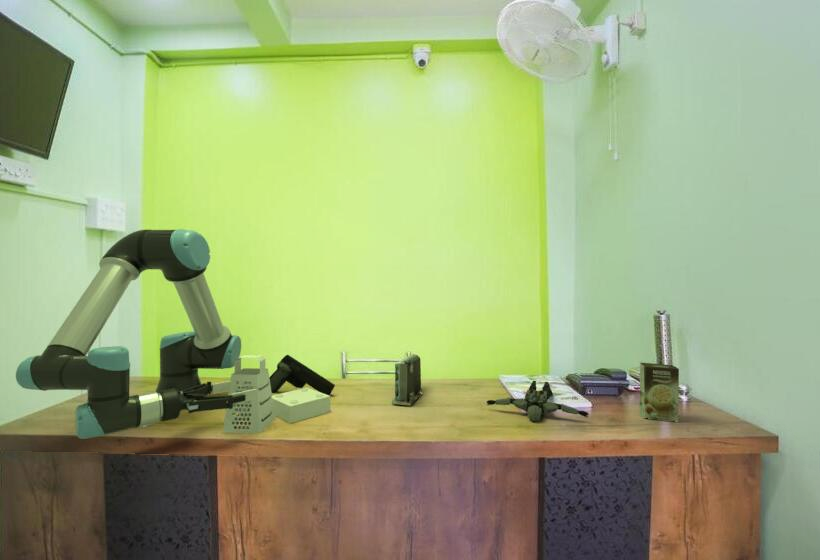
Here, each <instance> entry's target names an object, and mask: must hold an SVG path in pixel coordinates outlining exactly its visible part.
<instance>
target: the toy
mask: <svg viewBox="0 0 820 560" xmlns="http://www.w3.org/2000/svg"><path fill="white" fill-rule="evenodd" d="M553 395H554V392H553V391H552V389H551V385H550V383H549V382H548V381H545V382H544V384H543V386H542V388H541V389H540V390H537V380H532V382H531V384H530V385H529V387H528V389H526V392H525V394H524V398H523V397H522V398H512V397H507V398H499V399H495V400H494V399H490V400H486V403H487V404H486V406H491V405H499V406H510V405H514V407H516V408H518V409H520V410H522V411H524V412H525V413H526V412H527V418H528V419H529V420H530V421H532V422H533V421H535V422H538V421H540V420H541V416H543V415H546V414H550V413H555V412H557V411H558V410H561V411H562V412H564V413H567V414H568V413H569V414H573V415H580V416H583V417H584V418H589V412H587V411H585V410H579V409H578V408H574V407H572V406H568V405H566V404H564V403H555V402H552V401H549V399H550V398H551V397H553Z"/></svg>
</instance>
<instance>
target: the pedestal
mask: <svg viewBox="0 0 820 560" xmlns="http://www.w3.org/2000/svg"><path fill="white" fill-rule="evenodd" d="M331 398H332V397H331V395H326V394H323V393H321V392H319V391H317V390H316V389H313V388H309V387H303V388H298V389H295V390H289V391H286V392H282V393H277V394H272V400H273V407H274V414H275V417H276V418H279V419H281V420H283V421H285V422H287V423H289V424H293V423H296V422H300V421H303V420H307V419H311V418H314V417H317V416H320V415H323V414H326V413H331Z"/></svg>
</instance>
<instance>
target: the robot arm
mask: <svg viewBox="0 0 820 560" xmlns="http://www.w3.org/2000/svg"><path fill="white" fill-rule="evenodd" d="M210 250H211V249H210V247H209V243H208V241H207V240H206V238H205V237H204V236H203V235H202V234H201V233H200V232H198V231H196V230H192V229H191V230H190V229H184V228H183V229H182V228H181V229H180V228H178V229H140V230H136V231H133V232H131V233H129V234H127V235H125V236H123V237H122V238H121V239H119V240H117V242H115V243H114V244H113V245H112V246H111V247H110V248H109V249H108V250H107V252H105V254H104V255H103V256H102V258H101V259H100V260H99V263H98V265H99V267H100V269H98V271H97V273H96V274H95V276H94V277H93V279H92V280H91V282H90V283H89V285H88V287H87V288H86V289H85V291H84V292H83V294H81V296H80V298H79V299H78V301H77V302H76V303H75V305H74V307H73V308H72V309H71V311H70V312H69V314H68V316H67V317H66V318H65V320H64V321H63V323H62V324H61V326H60V327H59V329H58V330H57V331H56V333H55V335H54V336H53V337H52V339H51V340H50V342H49V343H48V345H47V346H46V348H45V349H44V351H43V352H42V353H41V355H33V356H29V357H27V358H25V360H22V361H21V362H20V363H19V365H18V367H17V368H16V371H15V380H16V382H17V384H18V385H19V386H20V387H21V388H22V389H25V390H35V391H43V392H44V391H56V390H57V391H58V390H61V391H62V390H63V391H64V390H69V391H86V392H87V402H85V403H84V404H83V403H82V404H79V405H77V406H76V408H75V416H74V423H75V424H74V426H75V434H76V436H77V437H78V438H79V439H81V440H83V439H89V438H90V439H91V438H96V437H101V436H102V437H103V436H104V437H105V436H107V435H110V434H111V435H112V434H115V433H116V434H117V433H119V432H122V431H127V430H131V429H136V428H140V427H142V428H143V429H145V428H147V427H148V425H149V426H150V425H154V424H157V423H159V422H162V423H164V422H168V421H172V420H176V419H178V418H179V416H180V414H181V412H182V410H183V411H184V410H187V411H188V414H192V413H199V412H206V411H215V410H226V409H227V408H229V409H232V408H233V405H234V404H238V403H242V402H247V401H251V400H256V389H252V390H247V391H243V392H238V393H233V394H231V395H228V394H226V395H216V394H220V393H224V392H229V386H230V380H227V381H222V382H216V383H212V381H206V382H203V383H202V382H201V379H200V376H199V369H203V370H204V369H208V370H211V369H212V370H213V369H214V370H224V369H232V368H235V360H236V359H237V358H239V357H241V352H242V338H241V337H240V336H239V335H236V334H234V335H232V332H231V330H230V329H229V328H228V326H226V325H224V324H223V322H222V319H221V318H220V315H219V311H218V308H217V306H216V303H215V301H214V298H213V295H212V293H211V290H210V286H209V284H208V282H207V279H206V277H205V272H206V271H207V268H208V265H209V263H210V260H211V255H210V253H211V251H210ZM147 270H160V271H161V272H162V274H163V277H164V279H165V280H166V281H168V282H170V283H173V285H174V287H175V289H176V292H177V294H178V297H179V298H180V301H181V303H182V306H183V308H184V310H185V313H186V314H187V317H188V319H189V322H190V325H191V327H192V329H193V331H185V332H179V333H178V332H177V333H174V334H168V335H164V336H162V337H161V339H160V345H159V381H158V384H157V386H156V388H155V390H154V391H150V392H144V393H140V394H136V395H130V381H131V380H130V378H131V375H130V374H131V372H130V371H131V362H130V352H129V349H128V348H127V347H126V346H121V345H112V346H102V347H101V346H100V347H95V348H92V347H93V345H94V343H95V342H96V339H97V338H98V337H99V334H100V333H101V331H102V330H103V328H104V327H105V325H106V323H107V321H108V319H109V318H110V317H111V315H112V314H113V311H114V310H115V308H116V306H117V305H118V304H119V301H120V300H121V299H122V296H124V293H125V292H126V290H127V288H128V287H129V286H130V283H131V282H132V281H135V280H137V279H138V278H139V277H140V275H141V273H143V272H145V271H147ZM91 348H92V349H91ZM235 388H237V387H234V389H235ZM210 394H212V395H210ZM227 401H228V403H227Z"/></svg>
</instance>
